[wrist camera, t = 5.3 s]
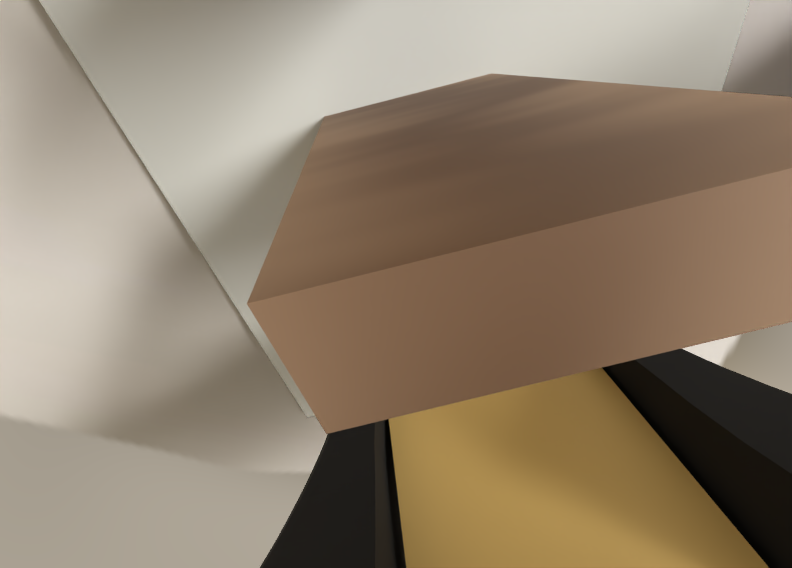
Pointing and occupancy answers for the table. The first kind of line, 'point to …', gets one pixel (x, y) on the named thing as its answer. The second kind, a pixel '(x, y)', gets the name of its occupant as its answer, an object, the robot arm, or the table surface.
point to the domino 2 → (553, 485)
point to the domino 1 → (523, 239)
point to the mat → (341, 85)
